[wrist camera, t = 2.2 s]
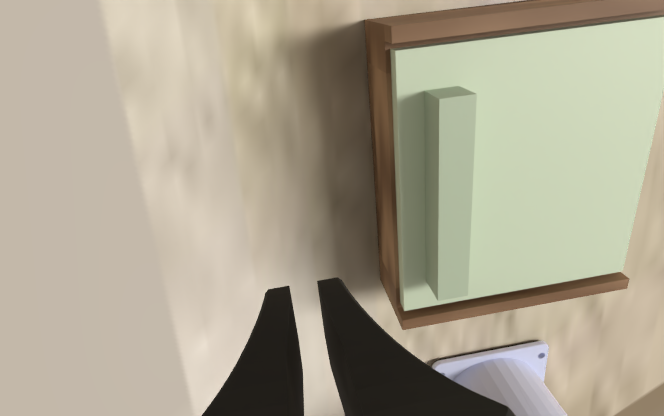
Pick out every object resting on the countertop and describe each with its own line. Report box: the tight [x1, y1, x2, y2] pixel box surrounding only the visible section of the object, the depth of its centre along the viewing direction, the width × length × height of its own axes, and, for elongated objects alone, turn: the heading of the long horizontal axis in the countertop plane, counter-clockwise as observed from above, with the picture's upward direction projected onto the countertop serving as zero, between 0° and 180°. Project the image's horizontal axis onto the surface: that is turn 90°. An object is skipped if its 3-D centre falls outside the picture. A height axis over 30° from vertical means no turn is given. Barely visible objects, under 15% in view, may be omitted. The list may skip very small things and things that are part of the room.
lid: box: [390, 15, 664, 311], centre depth 19 cm, size 12×12×2 cm
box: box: [365, 0, 664, 330], centre depth 21 cm, size 14×12×4 cm
